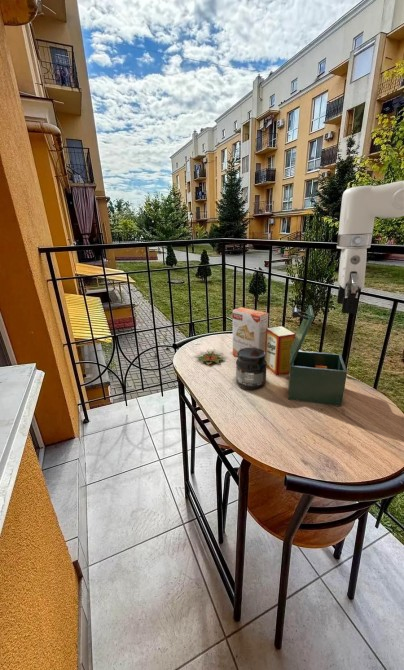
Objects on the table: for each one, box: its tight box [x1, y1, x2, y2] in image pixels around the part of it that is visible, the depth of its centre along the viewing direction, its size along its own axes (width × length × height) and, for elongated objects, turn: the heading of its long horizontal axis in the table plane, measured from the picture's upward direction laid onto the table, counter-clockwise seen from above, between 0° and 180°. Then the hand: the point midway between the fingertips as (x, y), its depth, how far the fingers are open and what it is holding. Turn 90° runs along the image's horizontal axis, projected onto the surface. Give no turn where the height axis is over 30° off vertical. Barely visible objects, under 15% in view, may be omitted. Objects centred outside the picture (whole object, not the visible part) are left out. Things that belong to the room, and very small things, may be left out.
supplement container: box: [235, 348, 267, 391], centre depth 97 cm, size 10×10×12 cm
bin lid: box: [289, 304, 315, 365], centre depth 87 cm, size 16×13×5 cm
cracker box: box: [232, 306, 269, 357], centre depth 115 cm, size 14×6×21 cm, turn 42°
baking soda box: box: [265, 325, 296, 377], centre depth 106 cm, size 10×6×16 cm
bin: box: [287, 350, 348, 407], centre depth 90 cm, size 16×13×12 cm
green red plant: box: [196, 349, 225, 366], centre depth 118 cm, size 12×12×5 cm
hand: (345, 308), depth 76 cm, fingers open, 9 cm apart
